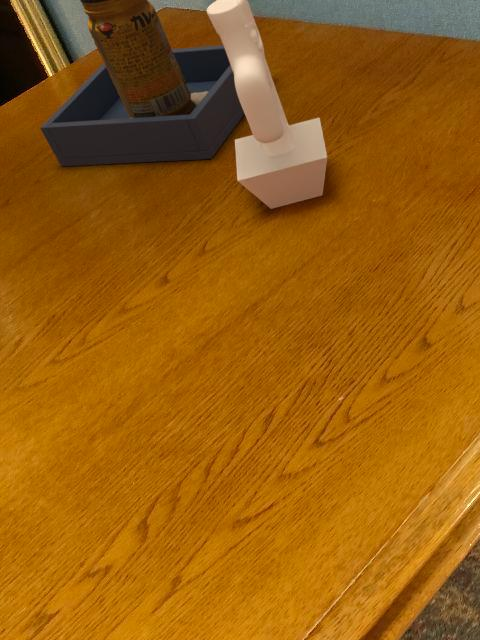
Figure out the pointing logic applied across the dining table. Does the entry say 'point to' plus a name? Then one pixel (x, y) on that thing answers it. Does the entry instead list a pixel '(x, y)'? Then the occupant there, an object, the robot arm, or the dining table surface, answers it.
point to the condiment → (139, 58)
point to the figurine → (267, 118)
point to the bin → (147, 118)
